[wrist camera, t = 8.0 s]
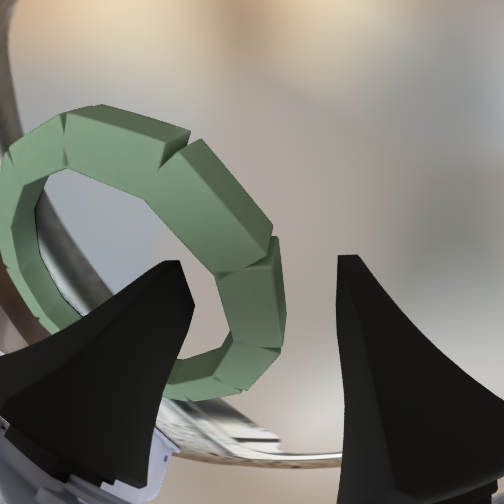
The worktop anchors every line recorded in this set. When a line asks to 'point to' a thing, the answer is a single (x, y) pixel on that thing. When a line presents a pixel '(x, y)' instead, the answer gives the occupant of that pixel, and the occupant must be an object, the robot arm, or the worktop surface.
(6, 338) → the peg stand
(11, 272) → the ring
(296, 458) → the worktop surface
